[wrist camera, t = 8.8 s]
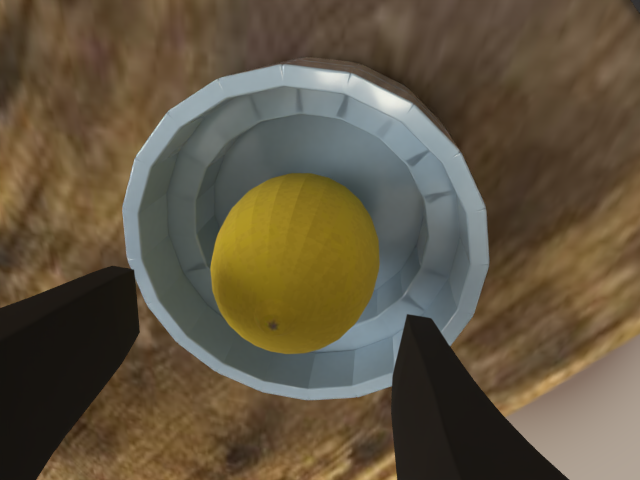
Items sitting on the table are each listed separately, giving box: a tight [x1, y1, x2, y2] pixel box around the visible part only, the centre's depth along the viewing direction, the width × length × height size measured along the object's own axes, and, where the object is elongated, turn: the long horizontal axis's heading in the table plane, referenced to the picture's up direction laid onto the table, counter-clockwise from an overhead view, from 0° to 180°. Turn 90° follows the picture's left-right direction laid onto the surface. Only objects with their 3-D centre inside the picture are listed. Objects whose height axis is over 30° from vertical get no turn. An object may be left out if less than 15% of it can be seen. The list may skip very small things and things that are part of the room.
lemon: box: [211, 173, 380, 354], centre depth 15 cm, size 6×6×8 cm
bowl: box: [122, 57, 490, 400], centre depth 17 cm, size 12×12×5 cm
